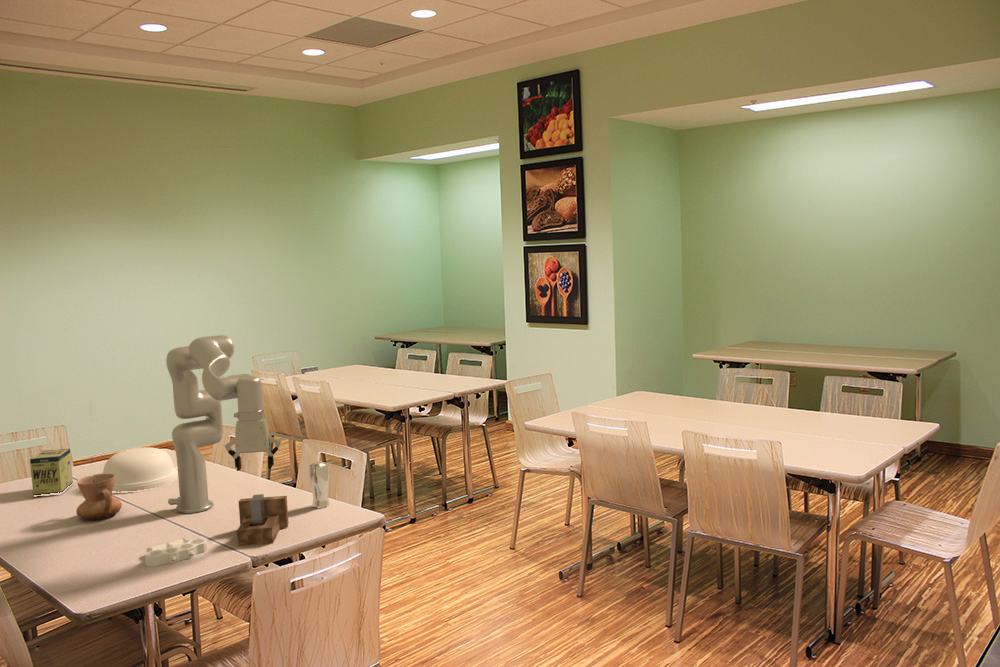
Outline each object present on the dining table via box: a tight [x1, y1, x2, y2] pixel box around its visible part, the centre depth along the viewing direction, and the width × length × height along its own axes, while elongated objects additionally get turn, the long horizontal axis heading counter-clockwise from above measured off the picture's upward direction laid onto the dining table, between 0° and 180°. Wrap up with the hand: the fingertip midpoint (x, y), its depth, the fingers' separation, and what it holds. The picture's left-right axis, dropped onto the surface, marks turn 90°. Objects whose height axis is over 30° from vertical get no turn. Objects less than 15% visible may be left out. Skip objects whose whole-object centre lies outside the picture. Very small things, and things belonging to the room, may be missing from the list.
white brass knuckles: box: [144, 537, 208, 567], centre depth 239 cm, size 3×18×15 cm
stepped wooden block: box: [236, 495, 290, 547], centre depth 253 cm, size 15×17×10 cm
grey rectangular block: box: [250, 493, 265, 526], centre depth 252 cm, size 3×6×12 cm, turn 6°
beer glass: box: [308, 462, 331, 508], centre depth 282 cm, size 7×7×15 cm
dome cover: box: [102, 446, 178, 492], centre depth 323 cm, size 32×30×14 cm
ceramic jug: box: [76, 472, 123, 521], centre depth 280 cm, size 18×14×14 cm
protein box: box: [29, 448, 74, 495], centre depth 316 cm, size 10×16×16 cm
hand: (254, 468), depth 250 cm, fingers open, 9 cm apart
